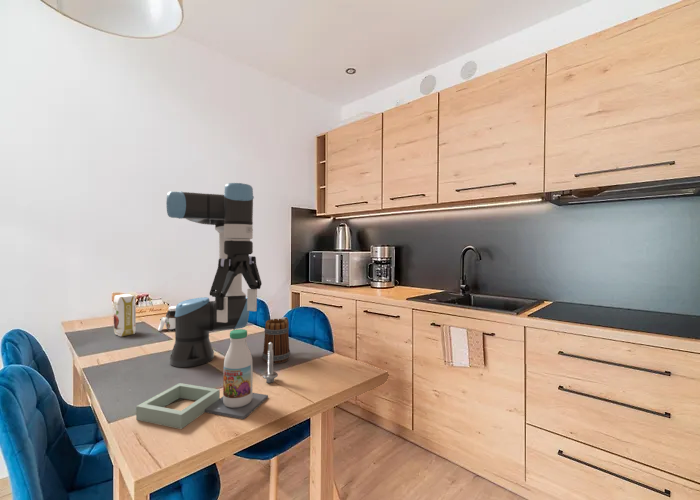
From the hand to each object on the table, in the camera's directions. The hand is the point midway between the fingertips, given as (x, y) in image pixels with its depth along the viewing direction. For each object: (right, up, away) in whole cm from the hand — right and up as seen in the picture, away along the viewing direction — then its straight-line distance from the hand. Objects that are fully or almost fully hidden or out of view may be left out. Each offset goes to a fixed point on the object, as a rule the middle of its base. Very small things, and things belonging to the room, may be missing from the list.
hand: (238, 316), depth 89 cm
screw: (+5, -25, +15) cm, 30 cm away
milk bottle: (0, -24, 0) cm, 24 cm away
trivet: (0, -25, 0) cm, 25 cm away
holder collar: (-15, -25, -3) cm, 29 cm away
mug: (+3, -24, +38) cm, 45 cm away
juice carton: (-78, -23, +66) cm, 105 cm away
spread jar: (-61, -23, +74) cm, 98 cm away
